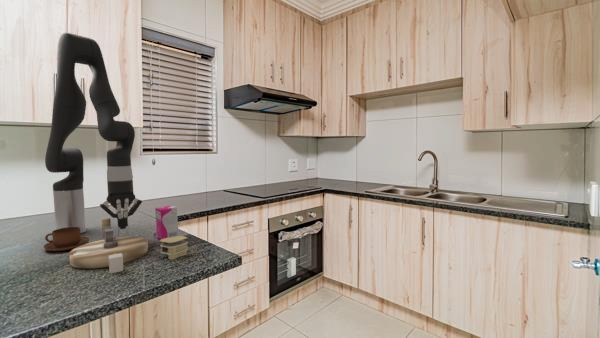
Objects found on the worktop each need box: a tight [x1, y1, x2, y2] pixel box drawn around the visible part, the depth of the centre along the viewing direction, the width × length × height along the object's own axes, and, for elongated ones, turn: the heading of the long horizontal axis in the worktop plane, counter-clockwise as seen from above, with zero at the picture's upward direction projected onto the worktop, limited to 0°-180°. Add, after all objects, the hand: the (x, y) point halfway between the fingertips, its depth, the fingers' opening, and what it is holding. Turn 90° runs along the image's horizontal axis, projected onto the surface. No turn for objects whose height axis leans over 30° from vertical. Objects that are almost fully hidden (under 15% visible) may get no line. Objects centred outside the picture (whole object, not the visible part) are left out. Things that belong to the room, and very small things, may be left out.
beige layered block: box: [159, 235, 189, 260], centre depth 89 cm, size 10×9×6 cm
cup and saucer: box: [43, 227, 90, 252], centre depth 98 cm, size 12×12×6 cm
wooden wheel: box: [68, 218, 149, 269], centre depth 91 cm, size 24×20×9 cm
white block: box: [108, 253, 124, 274], centre depth 80 cm, size 5×3×4 cm, turn 37°
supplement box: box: [155, 205, 180, 241], centre depth 107 cm, size 6×6×12 cm
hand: (122, 228), depth 103 cm, fingers closed
